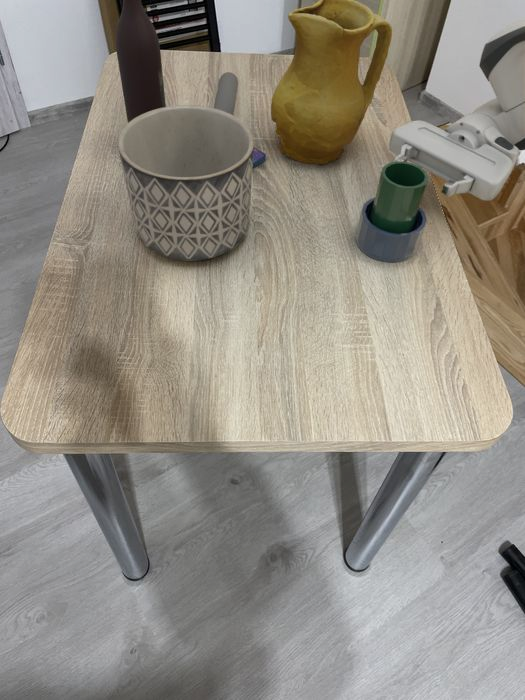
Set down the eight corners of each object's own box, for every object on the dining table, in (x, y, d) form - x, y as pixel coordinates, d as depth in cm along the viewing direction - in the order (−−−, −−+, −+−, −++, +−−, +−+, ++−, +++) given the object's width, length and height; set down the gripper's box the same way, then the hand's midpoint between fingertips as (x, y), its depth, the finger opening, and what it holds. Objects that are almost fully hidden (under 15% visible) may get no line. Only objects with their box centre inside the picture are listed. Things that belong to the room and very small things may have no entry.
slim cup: (410, 229, 91) (430, 167, 81) (403, 255, 87) (424, 192, 77) (370, 220, 92) (386, 157, 82) (362, 245, 88) (378, 181, 78)
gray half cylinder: (238, 80, 122) (238, 72, 121) (231, 126, 110) (231, 117, 109) (219, 79, 122) (219, 71, 121) (210, 124, 110) (210, 116, 109)
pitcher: (279, 114, 113) (295, -21, 93) (365, 135, 111) (402, 2, 91) (256, 161, 103) (269, 20, 83) (351, 185, 101) (388, 47, 81)
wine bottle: (174, 161, 102) (156, -24, 78) (136, 166, 100) (107, -21, 76) (165, 141, 106) (146, -41, 82) (129, 146, 104) (99, -38, 80)
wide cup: (420, 230, 92) (430, 203, 88) (412, 269, 86) (421, 242, 82) (362, 216, 94) (368, 189, 89) (349, 253, 88) (355, 226, 83)
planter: (199, 182, 98) (194, 92, 85) (274, 233, 90) (281, 143, 77) (110, 227, 89) (90, 134, 76) (185, 289, 81) (177, 197, 68)
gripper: (421, 103, 93) (373, 131, 87) (529, 154, 85) (483, 189, 78) (412, 137, 98) (365, 166, 92) (512, 188, 90) (468, 224, 83)
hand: (420, 177), depth 85 cm, fingers open, 8 cm apart
